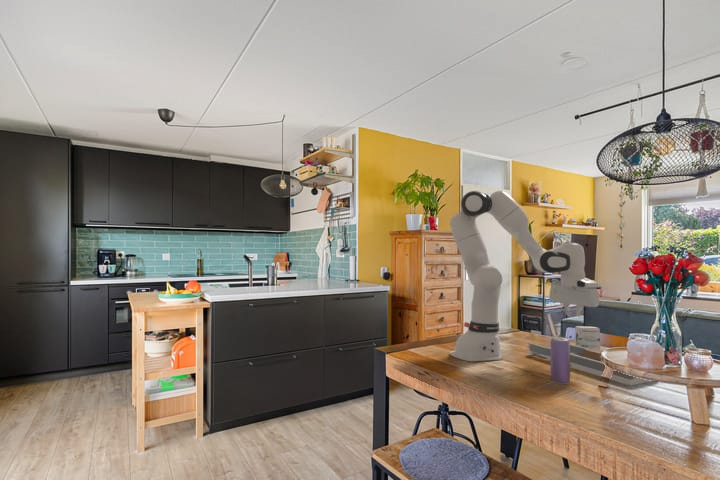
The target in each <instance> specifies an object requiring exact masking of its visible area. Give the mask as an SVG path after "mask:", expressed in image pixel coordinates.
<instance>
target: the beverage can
mask: <svg viewBox="0 0 720 480" xmlns="http://www.w3.org/2000/svg"><path fill="white" fill-rule="evenodd" d="M570 344H571V343H570V339H569V338H568V337H565V336H564V337H563V336H551V337H550V348H551V361H550V380H551V381H552V383H555V384H558V385H568V384H570V382H571V366H570Z"/></svg>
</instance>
